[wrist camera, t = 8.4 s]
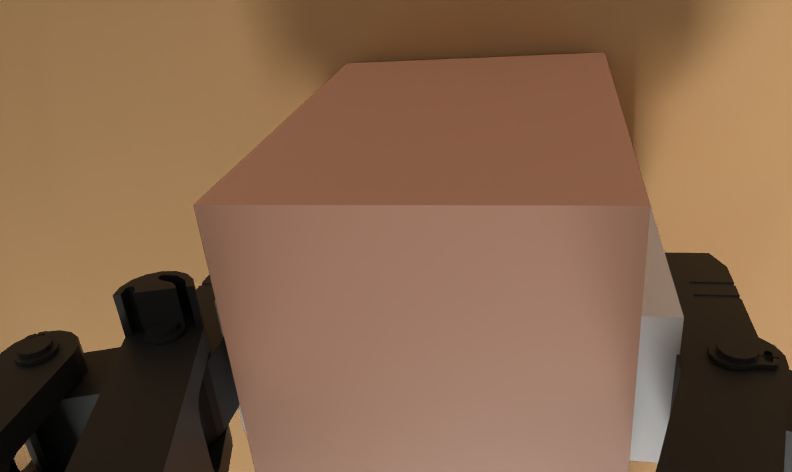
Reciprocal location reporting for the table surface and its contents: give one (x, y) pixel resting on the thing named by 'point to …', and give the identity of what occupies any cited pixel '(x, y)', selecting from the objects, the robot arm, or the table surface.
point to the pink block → (437, 271)
